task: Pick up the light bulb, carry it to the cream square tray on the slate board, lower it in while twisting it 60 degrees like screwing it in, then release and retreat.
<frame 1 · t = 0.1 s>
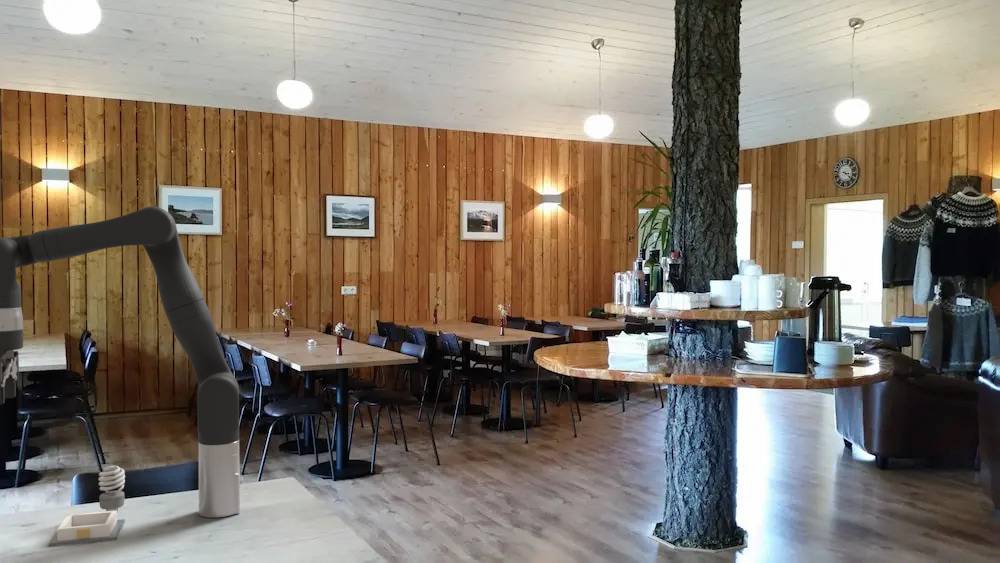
hand: (4, 401, 171), 29 cm above the table, fingers open, 8 cm apart
slate board: (88, 533, 170), on the table
light bulb: (112, 517, 182), on the table
cream square tray: (88, 525, 170), on the slate board, point 1 cm above the table
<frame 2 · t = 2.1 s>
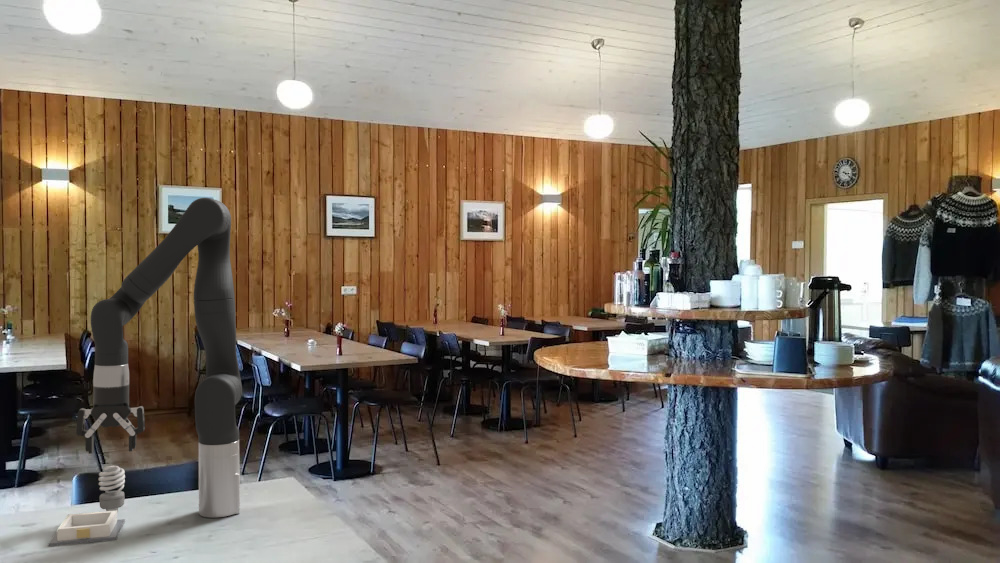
hand: (111, 451, 181), 15 cm above the table, fingers open, 8 cm apart
nothing on the table moved.
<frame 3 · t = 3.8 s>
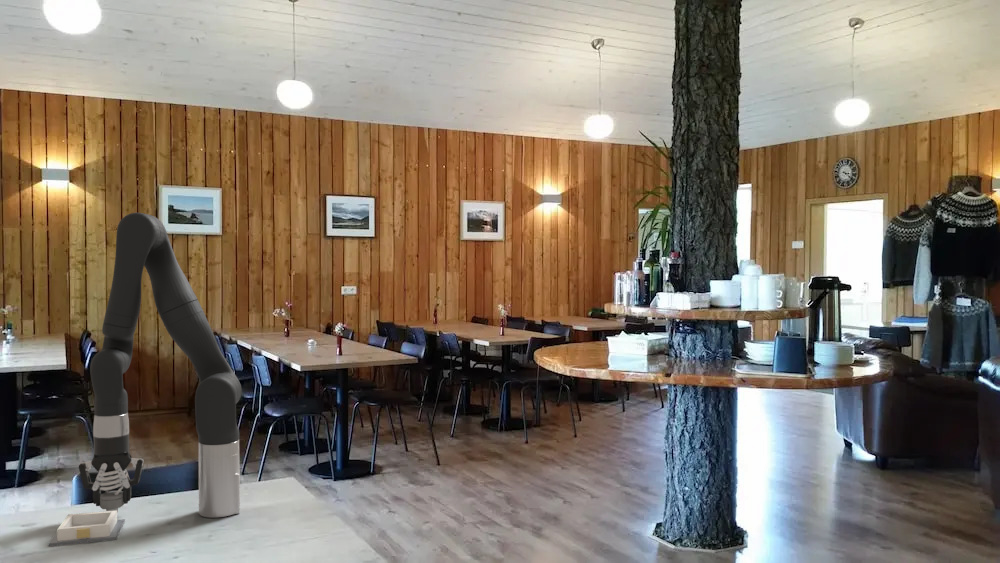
hand: (112, 503, 182), 3 cm above the table, fingers closed on light bulb, 5 cm apart
light bulb: (112, 517, 182), on the table, touching gripper
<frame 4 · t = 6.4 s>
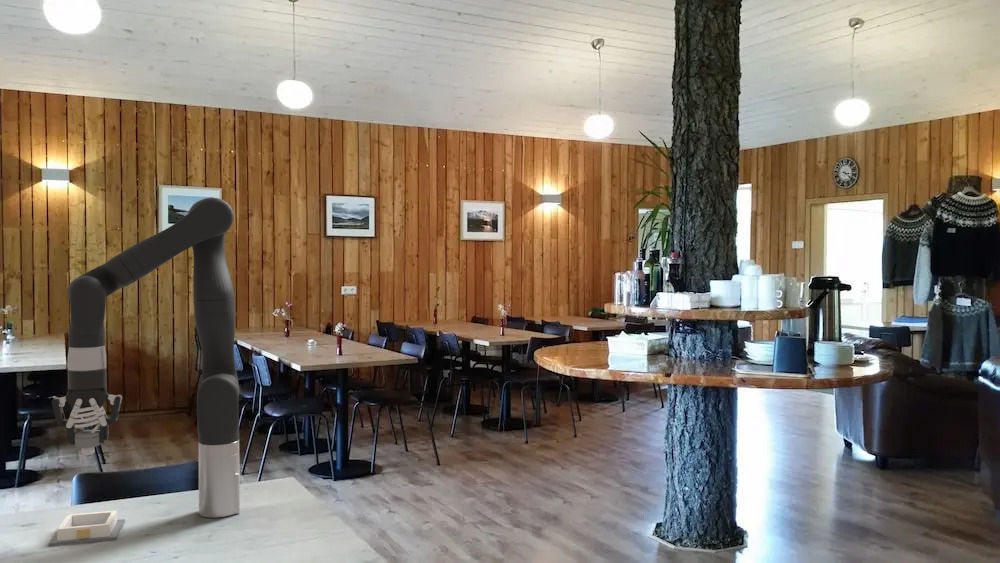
hand: (88, 442, 170), 20 cm above the table, fingers closed on light bulb, 5 cm apart
light bulb: (88, 457, 170), point 17 cm above the table, touching gripper
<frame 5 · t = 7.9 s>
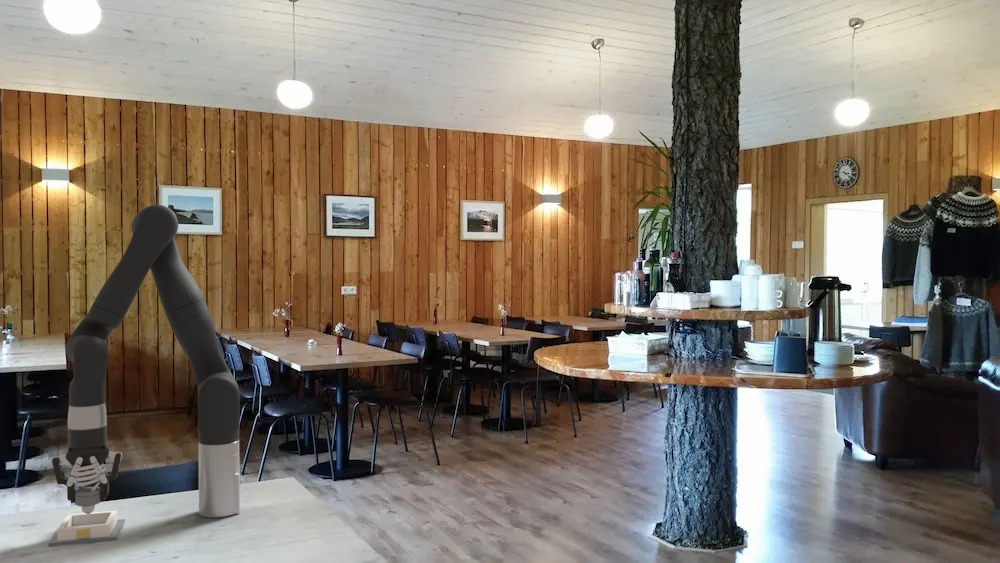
hand: (88, 500, 170), 7 cm above the table, fingers closed on light bulb, 5 cm apart
light bulb: (88, 514, 170), point 4 cm above the table, touching gripper
when the fingers open (5 cm above the table, at t = 9.1 s): light bulb stays where it is, resting on slate board.
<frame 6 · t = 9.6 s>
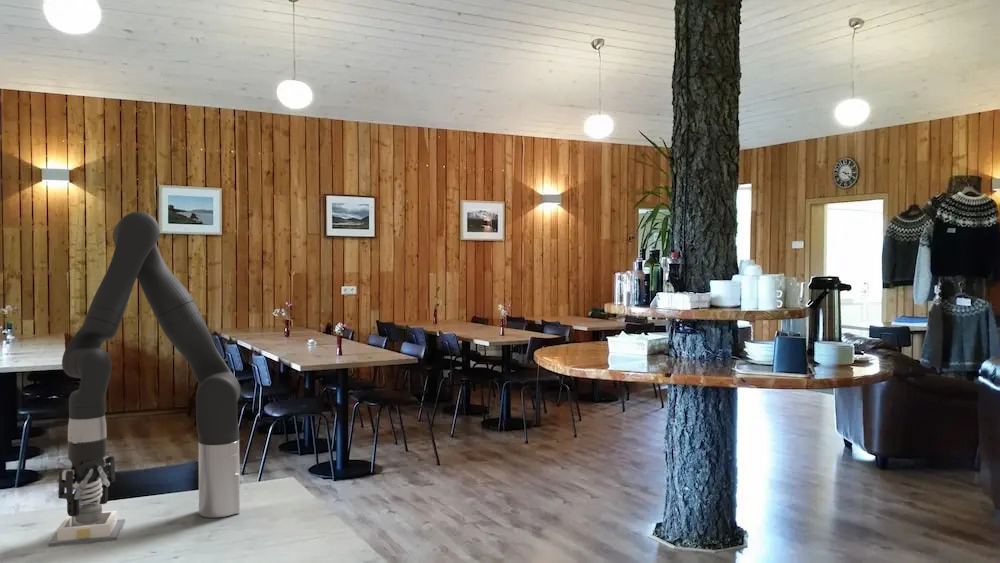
hand: (88, 509, 170), 5 cm above the table, fingers open, 8 cm apart
light bulb: (88, 531, 170), resting on slate board
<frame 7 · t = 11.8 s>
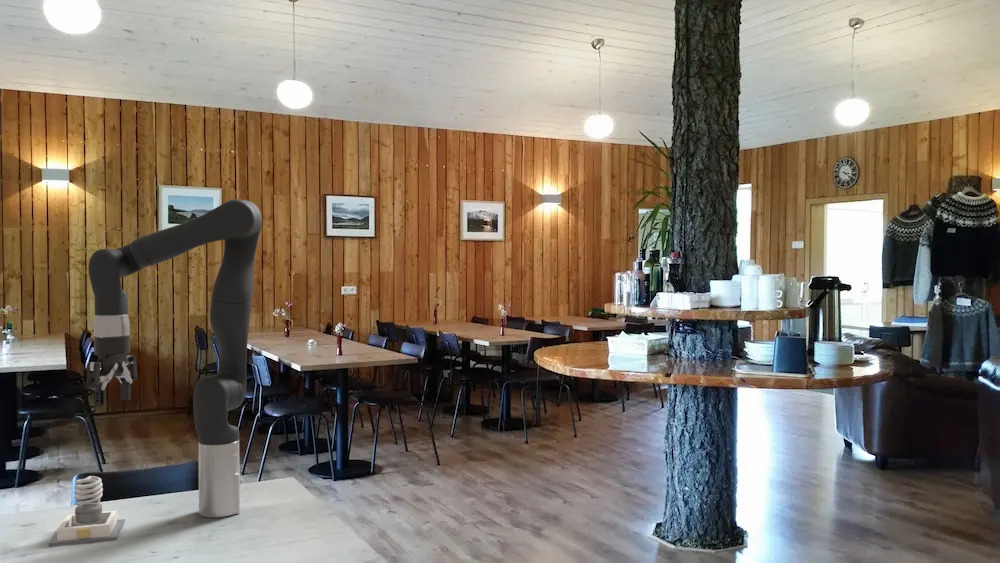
hand: (113, 402, 181), 27 cm above the table, fingers open, 8 cm apart
nothing on the table moved.
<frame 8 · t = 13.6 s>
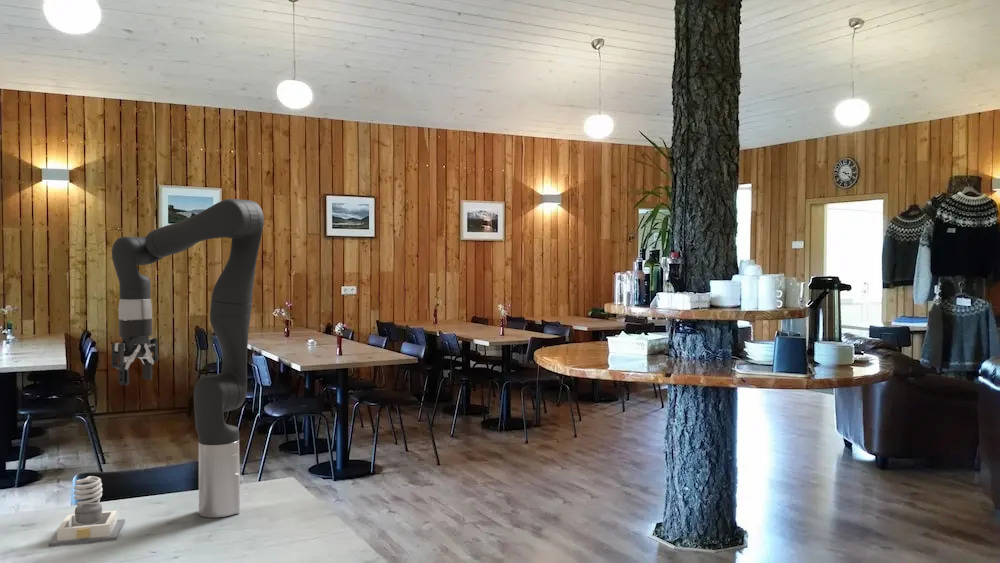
hand: (135, 382, 191), 30 cm above the table, fingers open, 8 cm apart
nothing on the table moved.
at the end: light bulb 0.1 cm off-centre on the cream square tray, point 0.4 cm above the cream square tray's base; light bulb touching slate board; light bulb tilted 0° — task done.
